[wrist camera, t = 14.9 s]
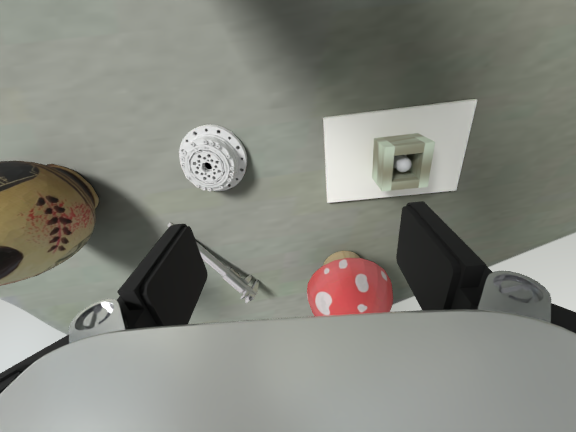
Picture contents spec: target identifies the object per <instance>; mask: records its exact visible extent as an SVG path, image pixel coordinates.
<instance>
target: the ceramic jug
mask: <svg viewBox="0 0 576 432" xmlns="http://www.w3.org/2000/svg"><path fill="white" fill-rule="evenodd" d="M98 203H99V198H98V196H97V194H96V193H95V191H94V189H93V187H92V186H91V185H90V183H88V182H87V181H86V180H85V179H84V178H83V177H81V176H80V175H79V174H78V173H77V172H75V171H73V170H71V169H68V168H65V167H63V166H59V165H54V164H47V165H43V164H38V163H34V162H24V161H1V162H0V286H1V285H6V284H10V283H15V282H18V281H21V280H25V279H28V278H31V277H34V276H37V275H39V274H41V273H44V272H45V271H48V270H50V269H52V268H54V267H55V266H57V265H59V264H61V263H63V262H64V261H66V260H67V259H69V258H70V257H72V256H73V255H74V254H75V253H77V252H78V251H79V250H80V249H81V248H82V247H83V246H84V245H85V244H86V243H87V241H88V240H89V238H90V236H91V235H92V233H93V231H94V225H95V221H96V216H95V208H96V207H97V205H98Z"/></svg>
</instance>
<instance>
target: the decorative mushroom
mask: <svg viewBox="0 0 576 432" xmlns="http://www.w3.org/2000/svg"><path fill="white" fill-rule="evenodd" d="M307 298H308V301H309V304H310V307H311V310H312V312H313V314H314V315H315V316H328V315H346V314H364V313H382V312H390V310H391V307H392V304H393V292H392V284H391V281H390V278H389V276H388V275H387V273H386V272H385V270H384V269H383V268H381V267H380V266H379V265H377V264H376V263H374V262H372V261H369V260H365V259H362V258H360V257H359V256H358V255H357V254H355V253H354V252H350V251H340V252H336V253H334V254H332V255H330V256H329V257H328V258H327V259H326V260H325V262H324V265H323V266H322V267H321V268H320V269H318V270H317V271H316V272H315V273H314V274H313V276H312V277H311V279H310V281H309V283H308V288H307Z"/></svg>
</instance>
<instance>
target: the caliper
mask: <svg viewBox="0 0 576 432" xmlns="http://www.w3.org/2000/svg"><path fill="white" fill-rule="evenodd" d="M171 225H174V224H172V223H171V222H170V223H169V224H168V228H169V227H170V226H171ZM196 243H197V246H198V248H199V251H200V254H201V257H202V259H203V260H204V261H205V262H207V263H208V264H209V265H210V266H211V267H213V268H214V269H215V270H216V271H217V272H219V273H220V274H221V275H222V276H223V279H224V280H226V281H227V282H228V283H229V284H230V285H231V286H233V287H234V288H235V289H236V290H237V291H238V292H240V293H243V296H242V297H241V299H243V298H245V297H246V298H245V302H246V303H247V302H248V301H249V300H250V301H251V300H252V299H254V297H255V295H256V293H257V291H258V286H259V281H258V279H257V280H256V281H255V282H254V284H253V285H252V287H250V286H248V283H249V282H250V280H251V278H252V275H249V276H248V277H246V278H245V279H242V278H241V276H240V275H239V274H238V273H237V272H236V271H235V270H234V269H233V268H232V267H231V268H230V269H228V268H227V267H226V266H225V265H224V264H223V263H221V262H220V261H219V260H218V259H217V258H215V257H214V256H213V255H212V254H211V253H209V252H208V251H207V250H206V249H205V248H204V247H202V246H201V245H200V244H199V243H198V242H197V241H196Z"/></svg>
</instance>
